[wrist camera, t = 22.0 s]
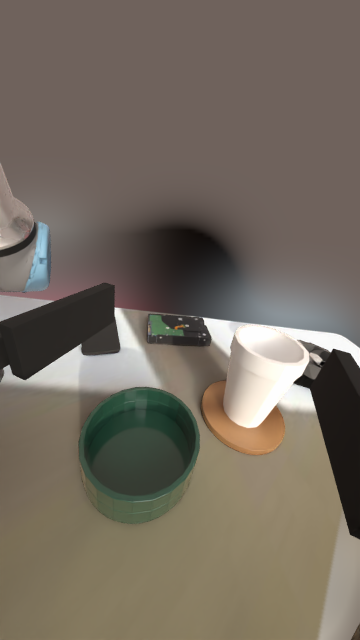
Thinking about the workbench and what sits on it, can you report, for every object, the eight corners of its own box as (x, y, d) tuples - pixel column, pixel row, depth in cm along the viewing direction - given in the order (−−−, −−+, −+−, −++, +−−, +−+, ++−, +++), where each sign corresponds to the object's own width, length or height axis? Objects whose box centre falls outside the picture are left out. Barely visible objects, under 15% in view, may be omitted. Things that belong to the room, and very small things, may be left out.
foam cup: (254, 386, 39) (280, 325, 33) (285, 434, 31) (327, 365, 25) (206, 388, 36) (224, 323, 30) (226, 440, 28) (256, 366, 22)
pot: (94, 410, 31) (92, 387, 29) (183, 406, 34) (187, 386, 32) (65, 534, 19) (60, 512, 17) (205, 513, 22) (214, 492, 20)
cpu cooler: (352, 378, 38) (292, 360, 40) (336, 400, 40) (281, 382, 42) (334, 348, 46) (286, 335, 49) (322, 368, 49) (277, 354, 51)
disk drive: (200, 325, 59) (147, 322, 56) (202, 317, 58) (147, 312, 55) (209, 347, 50) (147, 344, 47) (212, 337, 49) (148, 333, 46)
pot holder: (193, 384, 38) (194, 380, 38) (257, 383, 41) (259, 379, 41) (215, 459, 27) (216, 454, 27) (301, 451, 30) (304, 447, 29)
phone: (80, 353, 40) (83, 315, 52) (80, 356, 40) (83, 318, 52) (120, 349, 43) (114, 315, 55) (120, 353, 43) (114, 317, 55)
